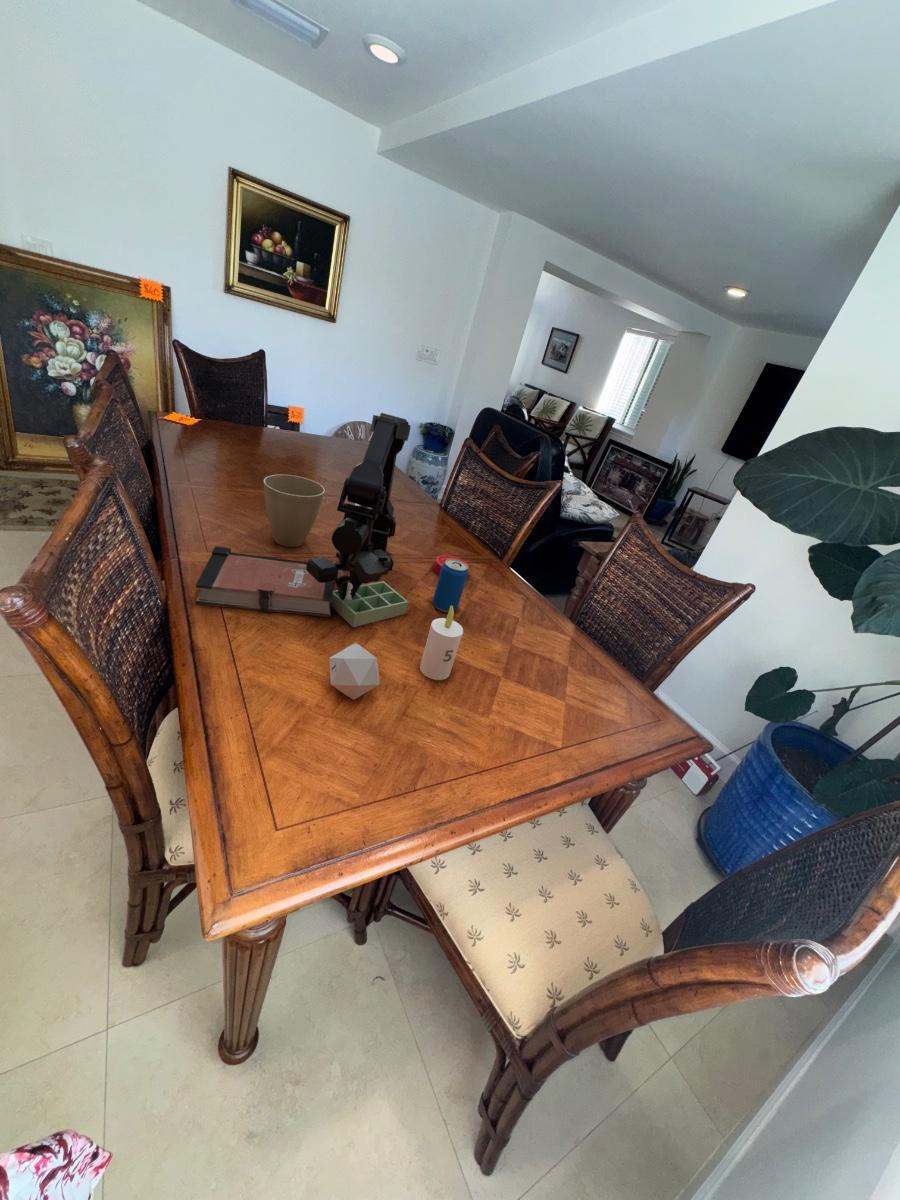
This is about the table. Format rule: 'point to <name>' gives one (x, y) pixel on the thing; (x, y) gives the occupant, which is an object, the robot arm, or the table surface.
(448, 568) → the beverage can
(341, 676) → the die
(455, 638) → the candle
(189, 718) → the table surface
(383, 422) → the robot arm
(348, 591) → the chess pawn
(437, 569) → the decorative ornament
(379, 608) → the grid
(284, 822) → the table surface
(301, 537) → the plant pot
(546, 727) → the table surface
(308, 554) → the table surface
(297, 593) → the book
